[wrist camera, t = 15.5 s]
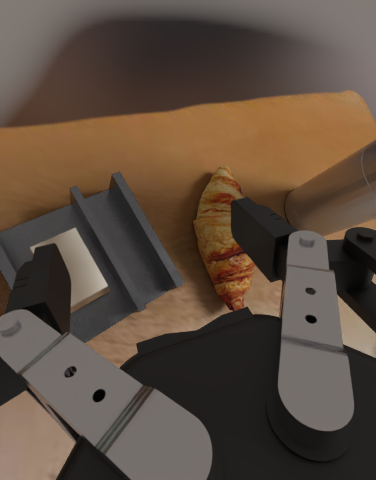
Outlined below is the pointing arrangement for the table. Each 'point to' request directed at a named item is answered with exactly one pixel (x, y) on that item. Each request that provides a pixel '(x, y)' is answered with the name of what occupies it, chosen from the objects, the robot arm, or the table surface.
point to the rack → (101, 253)
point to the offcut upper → (78, 265)
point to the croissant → (222, 240)
